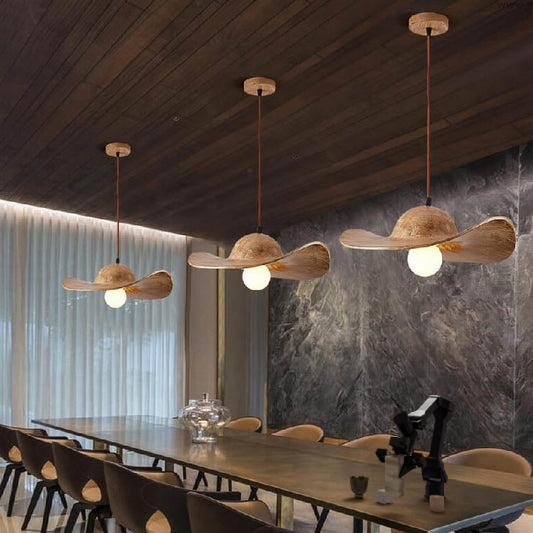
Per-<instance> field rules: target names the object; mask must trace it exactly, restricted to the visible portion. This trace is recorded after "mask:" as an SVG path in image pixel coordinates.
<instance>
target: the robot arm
mask: <svg viewBox="0 0 533 533" xmlns="http://www.w3.org/2000/svg"><path fill="white" fill-rule="evenodd" d="M455 406H456V405H455V404H454V403H453V401H452V400H449V399H447V398H443V397H442V396H441V395H428V396H427V399H426V400H425V401H424V403H423V404H422V405H420V407H419V408H418V409H417V410H416V411H412V412H410V413H408V412H407V411H405V410H401V412H398V413H397V414H396V415H395V416H393V418H392V421H393V424H394V425H395V427H396V429H397V431H398V433H399V434H401V436H392V435H391V436H389V437H390V438H389V440H388V446H390V447H391V451H392V452H391V451H389V449H388V448H382V447H377V449H376V450H375V452H374V454H375V455H376V457H377V460H379V462H380V463H381V464H385V456H389V455H397V456H404V464H403V466H402V468H401V471H400V473H399V478H401V477H403V476H404V477H405V476H406V475H407V474H408V473H410V472H411V471H412V470H415V469H417V468H419V469H420V470H421V471H420V472H421V477H422V481H423V482H424V481H425V482H426V484H425V485H424V486H425V492H424V493H425V494H423V496H424V497H426V498H429V499H430V496H431V495H440V496H443V497H444V499H447V497H446V495H445V484H447V483H448V480H449V479H448V478H449V476H448V474H447V472H446V470H445V464H444V463H445V462H444V461H443V458H442V456H443V450H444V444H445V439H446V433H447V432H446V431H447V428H448V427H447V425H448V422H450V420H452V418H453V415H454V412H455V409H456V407H455ZM432 415H433V418H434V424H433V430H432V436H431V442H430V448H429V452H428V453H429V454H428V455H427V456H424V454H423V452H417V451H415V448H414V447H415V445H416V442H417V441H418V442H420V441H421V439H420V436H419V432H418V431H424V430H425V429H426V427H427V425H428V419H429V417H430V416H432Z"/></svg>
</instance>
